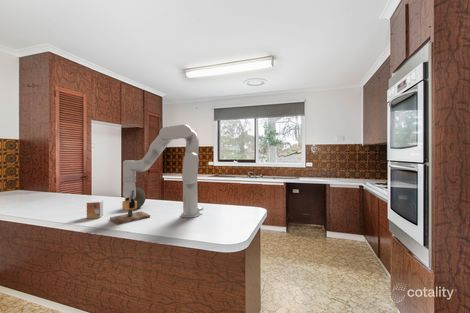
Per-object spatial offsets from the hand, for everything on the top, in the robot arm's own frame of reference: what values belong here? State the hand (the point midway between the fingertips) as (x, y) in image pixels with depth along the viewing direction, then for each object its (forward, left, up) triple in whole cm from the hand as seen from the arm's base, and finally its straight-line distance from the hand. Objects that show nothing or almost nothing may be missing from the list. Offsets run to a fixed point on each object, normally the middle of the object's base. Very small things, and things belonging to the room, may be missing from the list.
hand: (129, 206), depth 143 cm
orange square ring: (0, 0, -1) cm, 1 cm away
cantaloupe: (-14, -26, -8) cm, 31 cm away
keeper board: (0, 0, -7) cm, 7 cm away
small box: (+15, -20, -8) cm, 26 cm away
